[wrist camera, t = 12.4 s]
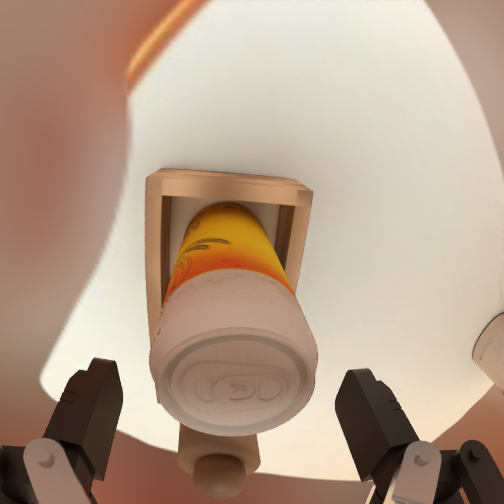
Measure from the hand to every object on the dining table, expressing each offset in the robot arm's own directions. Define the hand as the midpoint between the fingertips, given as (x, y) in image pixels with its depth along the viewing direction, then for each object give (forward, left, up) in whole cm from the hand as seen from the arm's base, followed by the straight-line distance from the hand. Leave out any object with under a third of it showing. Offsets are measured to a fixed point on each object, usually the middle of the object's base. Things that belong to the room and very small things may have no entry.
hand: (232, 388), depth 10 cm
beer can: (0, 0, -15) cm, 15 cm away
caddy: (0, +4, -15) cm, 16 cm away
